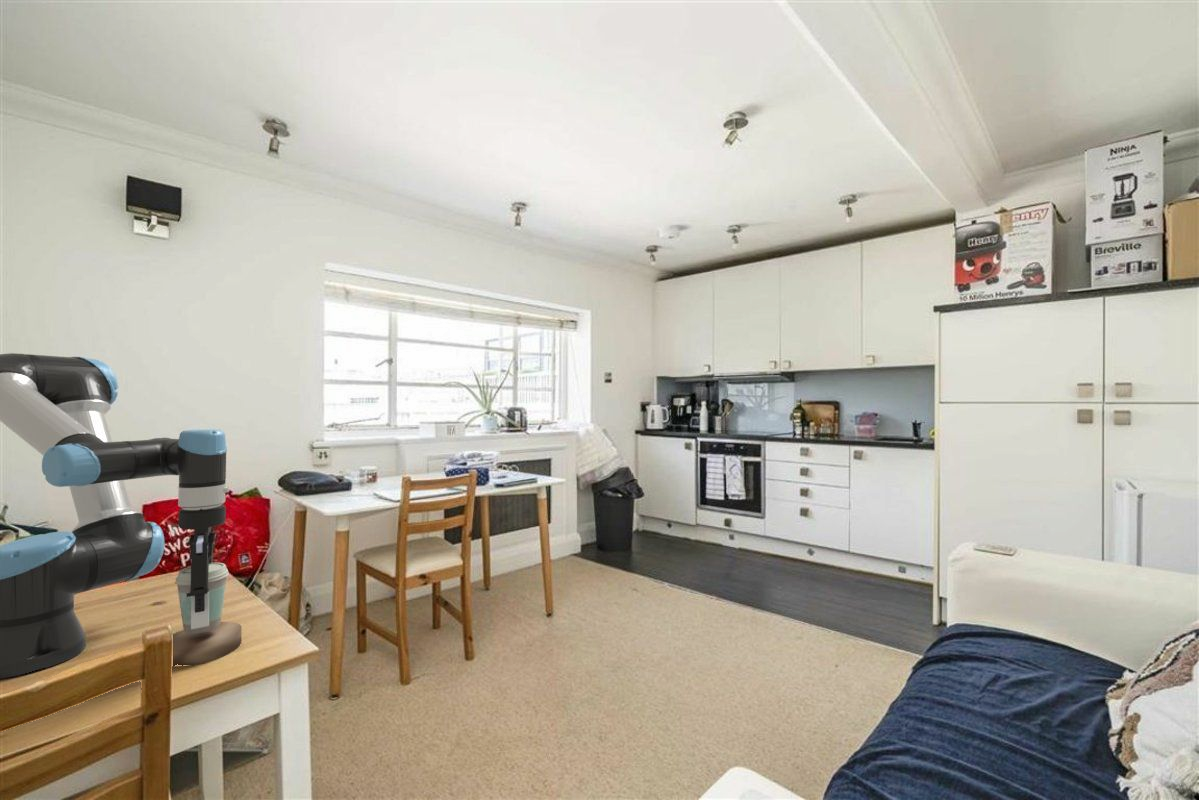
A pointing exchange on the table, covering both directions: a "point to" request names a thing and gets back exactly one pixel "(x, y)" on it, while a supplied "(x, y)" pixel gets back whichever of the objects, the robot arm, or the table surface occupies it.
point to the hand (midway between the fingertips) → (202, 619)
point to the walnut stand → (206, 644)
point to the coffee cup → (216, 596)
